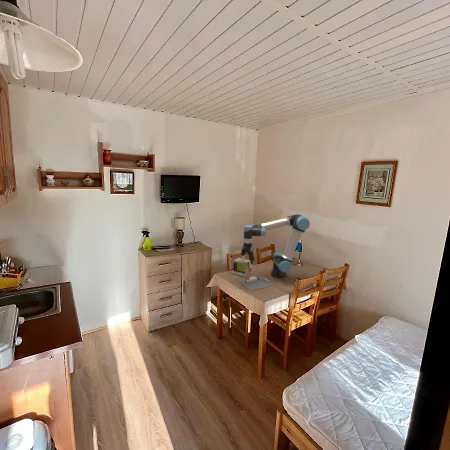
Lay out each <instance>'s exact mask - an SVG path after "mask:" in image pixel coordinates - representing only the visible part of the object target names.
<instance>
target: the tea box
mask: <svg viewBox="0 0 450 450" xmlns="http://www.w3.org/2000/svg"><path fill="white" fill-rule="evenodd" d="M232 261H233V264H232V265H233V268H232V270H233V273H232V274H233V275H237V276H240V277H244V278H245V268H249V276H250V275H251V274H252V273H251V272H252V267H251V268H250V259H246V258H245V262H244V263H242V257H237V258H236V259H234V260H232Z"/></svg>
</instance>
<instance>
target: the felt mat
mask: <svg viewBox="0 0 450 450" xmlns="http://www.w3.org/2000/svg"><path fill="white" fill-rule="evenodd" d="M258 276H259V280H257V281H252V282H248V283H247V282H245V278H244V279H240V280H238V282H240V283H241V284H242V285H243V286H245V288H247V289H248V290H250V291H251V292H252V291H256V290H259V289H264V288H268V287H272V286H274V284H273V283H271V282H270V283H269V284H267V283H266V282H264V281H263V278H264V277H262V276H260V275H258ZM255 277H256V278H257V276H255Z"/></svg>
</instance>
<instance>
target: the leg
mask: <svg viewBox="0 0 450 450" xmlns="http://www.w3.org/2000/svg"><path fill="white" fill-rule="evenodd" d="M256 277H257V276H251V277H250V275H249V268H245V277H244V279H245V282H247V283H248V282H252V281H257V278H256Z"/></svg>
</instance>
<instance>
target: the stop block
mask: <svg viewBox="0 0 450 450" xmlns="http://www.w3.org/2000/svg"><path fill="white" fill-rule="evenodd" d="M262 278H263V281H264V282H266V283H267V284H269V283H271V280H270V279H268V278H266V277H262Z"/></svg>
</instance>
